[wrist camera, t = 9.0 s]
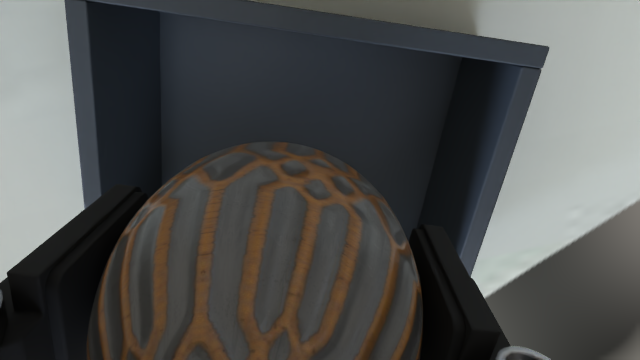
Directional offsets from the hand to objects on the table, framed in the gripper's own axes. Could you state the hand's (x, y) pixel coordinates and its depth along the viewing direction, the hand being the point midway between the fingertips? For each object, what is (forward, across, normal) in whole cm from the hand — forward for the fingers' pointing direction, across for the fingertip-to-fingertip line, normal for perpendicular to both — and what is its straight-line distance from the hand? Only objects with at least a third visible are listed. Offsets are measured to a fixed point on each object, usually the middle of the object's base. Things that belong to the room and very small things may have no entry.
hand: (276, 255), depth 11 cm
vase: (+2, 0, 0) cm, 2 cm away
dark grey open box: (+11, 0, 0) cm, 11 cm away
